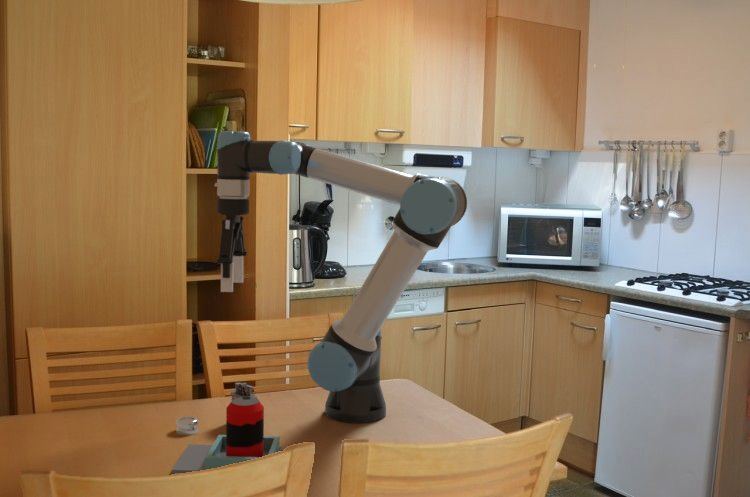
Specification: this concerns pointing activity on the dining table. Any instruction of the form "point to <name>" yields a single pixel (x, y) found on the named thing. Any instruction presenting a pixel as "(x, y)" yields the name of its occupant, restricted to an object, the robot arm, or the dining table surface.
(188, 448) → the dock
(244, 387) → the lighter
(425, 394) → the dining table surface
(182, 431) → the grooved metal pulley
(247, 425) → the soda can
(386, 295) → the robot arm
